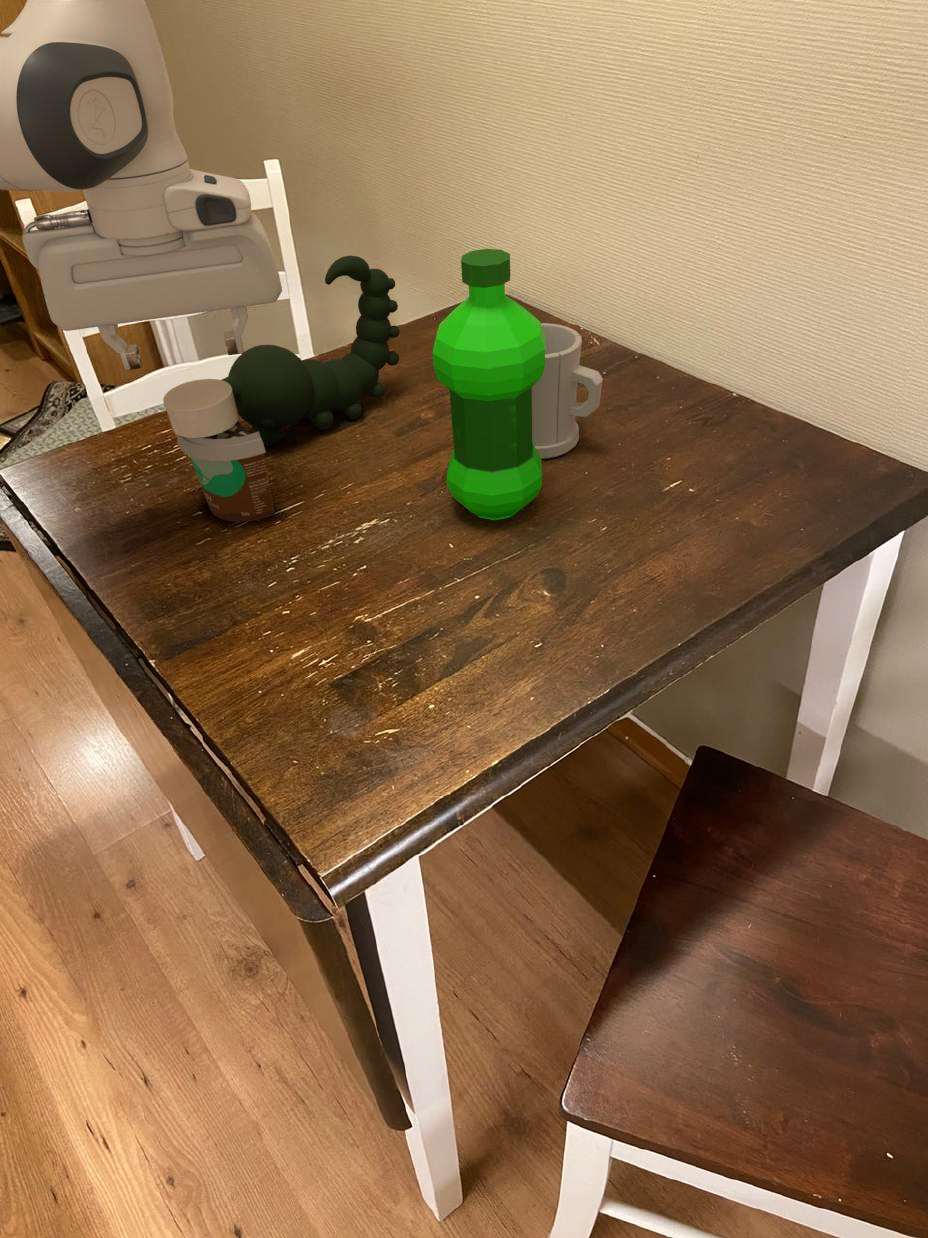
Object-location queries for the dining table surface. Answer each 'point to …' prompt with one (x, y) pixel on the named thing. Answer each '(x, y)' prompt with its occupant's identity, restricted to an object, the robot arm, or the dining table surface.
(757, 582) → the dining table surface
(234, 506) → the food container
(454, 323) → the plastic bottle
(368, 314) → the toy figurine
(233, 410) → the beige hockey puck
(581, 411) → the cup
